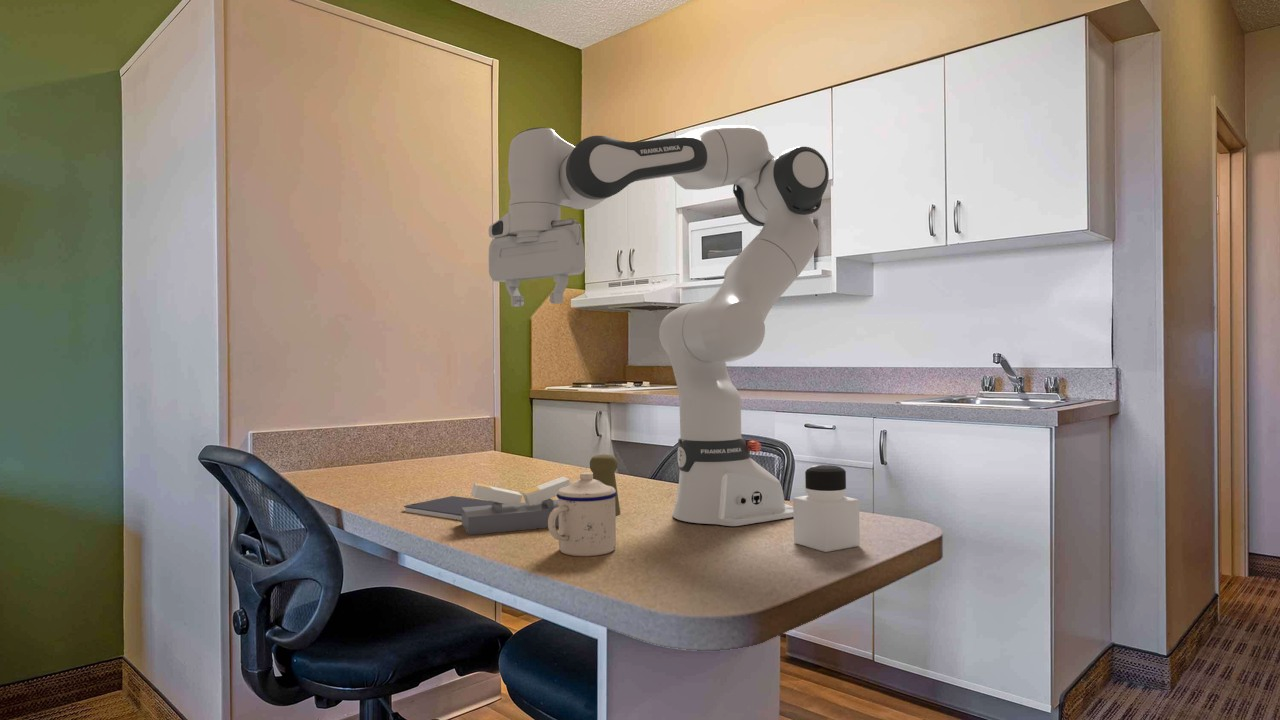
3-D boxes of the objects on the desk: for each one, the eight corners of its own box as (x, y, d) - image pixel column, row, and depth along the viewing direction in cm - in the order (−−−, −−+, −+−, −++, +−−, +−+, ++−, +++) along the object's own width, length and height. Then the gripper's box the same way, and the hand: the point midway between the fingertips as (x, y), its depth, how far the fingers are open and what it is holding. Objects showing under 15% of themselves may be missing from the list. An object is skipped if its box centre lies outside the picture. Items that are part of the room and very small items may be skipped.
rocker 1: (515, 502, 138) (518, 491, 138) (519, 506, 134) (522, 494, 135) (471, 493, 136) (474, 482, 136) (474, 497, 132) (477, 485, 132)
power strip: (602, 512, 146) (601, 489, 146) (616, 521, 138) (616, 497, 138) (461, 524, 137) (461, 500, 137) (468, 535, 129) (468, 509, 129)
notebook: (527, 513, 149) (452, 503, 161) (527, 505, 149) (452, 495, 161) (478, 525, 139) (402, 514, 151) (478, 517, 139) (402, 505, 151)
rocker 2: (566, 486, 141) (563, 475, 141) (572, 490, 138) (569, 478, 137) (525, 502, 139) (521, 491, 139) (529, 505, 135) (526, 494, 135)
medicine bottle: (860, 546, 117) (859, 467, 117) (825, 553, 113) (823, 471, 113) (827, 537, 123) (826, 461, 123) (792, 543, 119) (791, 465, 119)
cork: (616, 517, 141) (615, 457, 141) (584, 516, 142) (583, 456, 142) (623, 510, 147) (622, 453, 147) (592, 510, 148) (592, 452, 148)
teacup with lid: (589, 539, 124) (587, 467, 124) (630, 548, 118) (628, 472, 118) (530, 554, 115) (528, 476, 115) (571, 565, 109) (569, 482, 109)
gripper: (592, 219, 129) (594, 302, 129) (508, 232, 142) (509, 308, 142) (566, 214, 124) (568, 300, 124) (481, 228, 137) (483, 307, 137)
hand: (536, 304), depth 133 cm, fingers open, 8 cm apart
